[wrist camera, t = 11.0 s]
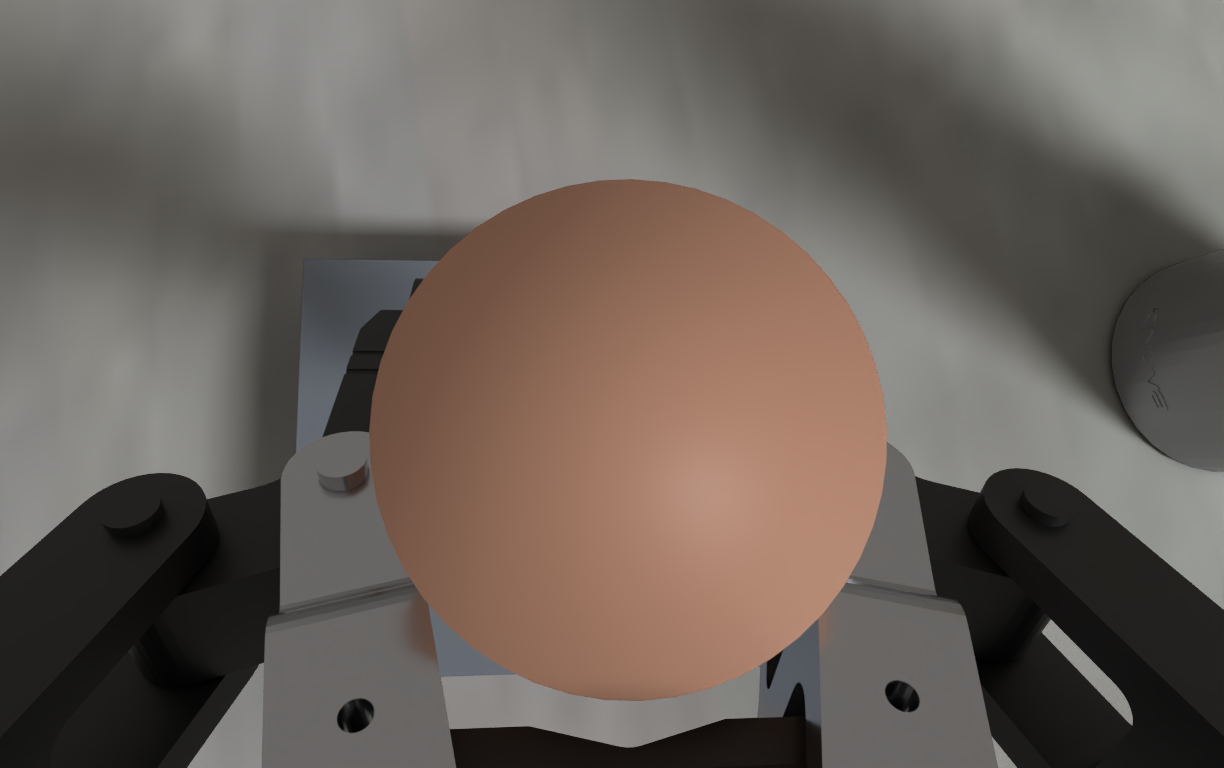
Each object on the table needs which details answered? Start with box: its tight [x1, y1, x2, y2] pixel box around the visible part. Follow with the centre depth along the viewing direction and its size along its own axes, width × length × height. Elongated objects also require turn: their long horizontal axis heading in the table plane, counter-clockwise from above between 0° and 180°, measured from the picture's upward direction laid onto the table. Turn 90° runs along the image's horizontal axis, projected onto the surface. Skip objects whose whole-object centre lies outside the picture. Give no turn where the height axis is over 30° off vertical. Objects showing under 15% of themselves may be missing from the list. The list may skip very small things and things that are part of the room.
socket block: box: [296, 259, 761, 677], centre depth 28 cm, size 18×14×4 cm
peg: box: [369, 179, 887, 701], centre depth 12 cm, size 4×4×12 cm
